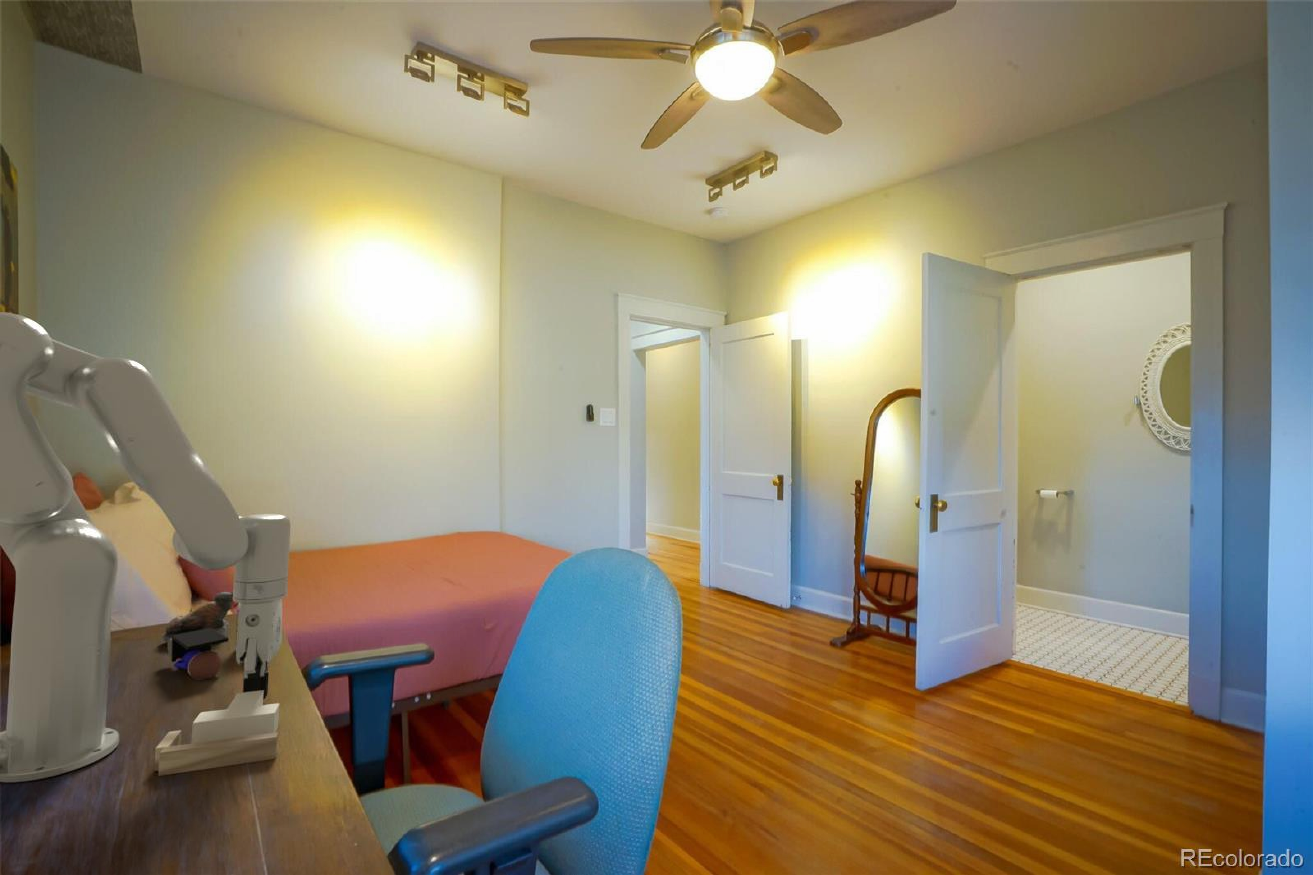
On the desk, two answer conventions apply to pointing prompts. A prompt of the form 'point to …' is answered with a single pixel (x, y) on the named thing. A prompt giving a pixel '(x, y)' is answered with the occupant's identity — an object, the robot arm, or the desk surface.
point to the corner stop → (212, 752)
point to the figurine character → (197, 652)
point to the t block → (237, 719)
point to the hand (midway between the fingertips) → (255, 698)
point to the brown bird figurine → (202, 617)
